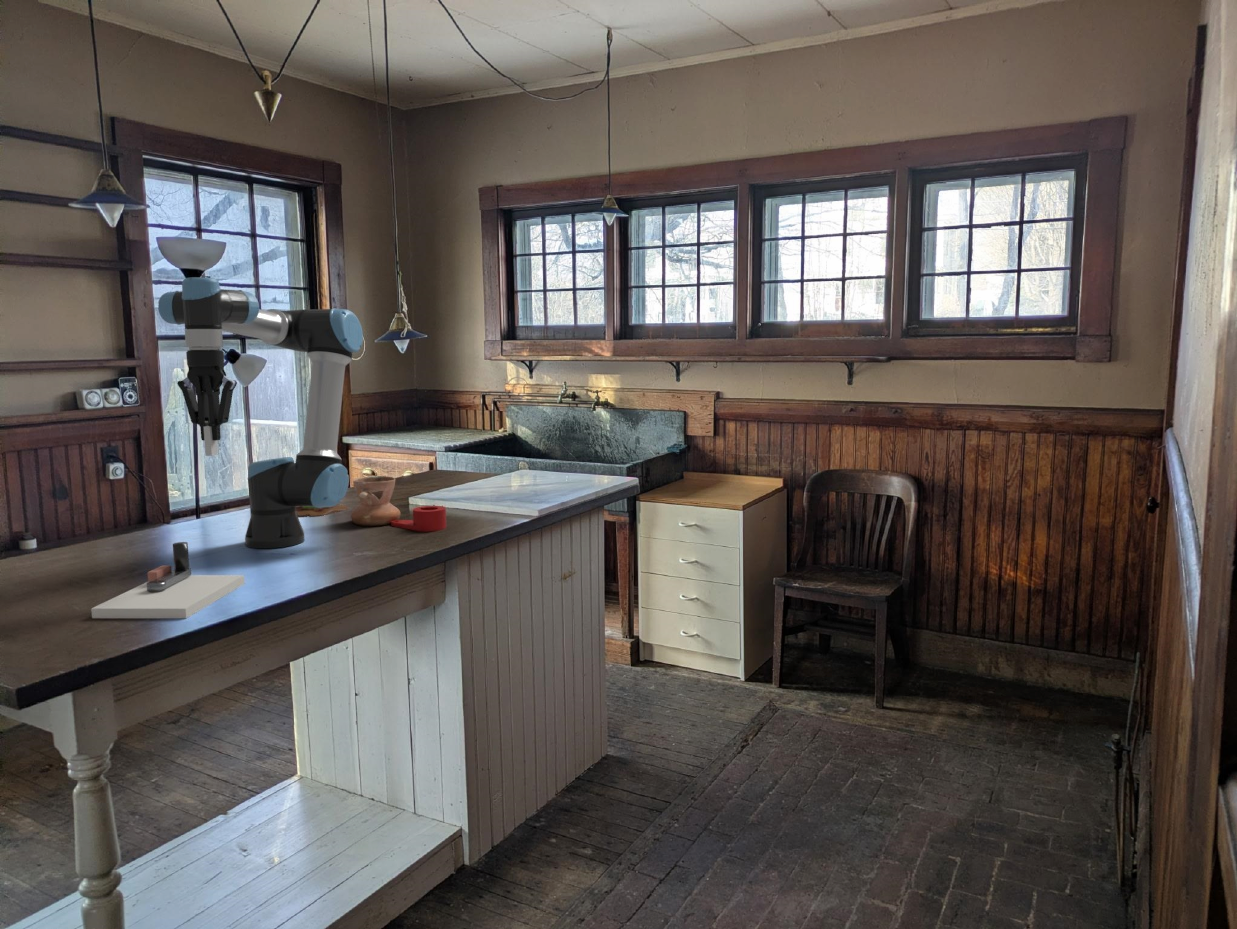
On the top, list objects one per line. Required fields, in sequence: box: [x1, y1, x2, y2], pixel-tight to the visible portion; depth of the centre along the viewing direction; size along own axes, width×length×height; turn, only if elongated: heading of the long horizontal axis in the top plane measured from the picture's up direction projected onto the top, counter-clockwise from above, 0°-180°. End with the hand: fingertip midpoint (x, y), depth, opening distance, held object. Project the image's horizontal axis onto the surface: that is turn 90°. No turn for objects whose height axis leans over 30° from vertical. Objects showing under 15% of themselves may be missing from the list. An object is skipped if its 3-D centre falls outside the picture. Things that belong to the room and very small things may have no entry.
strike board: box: [90, 565, 246, 619], centre depth 188 cm, size 26×19×5 cm
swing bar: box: [147, 541, 192, 592], centre depth 193 cm, size 14×4×8 cm, turn 179°
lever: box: [390, 505, 447, 533], centre depth 260 cm, size 18×9×7 cm, turn 69°
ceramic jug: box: [350, 475, 402, 527], centre depth 267 cm, size 18×14×14 cm
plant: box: [296, 503, 350, 518], centre depth 284 cm, size 20×20×11 cm
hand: (212, 455), depth 198 cm, fingers closed
